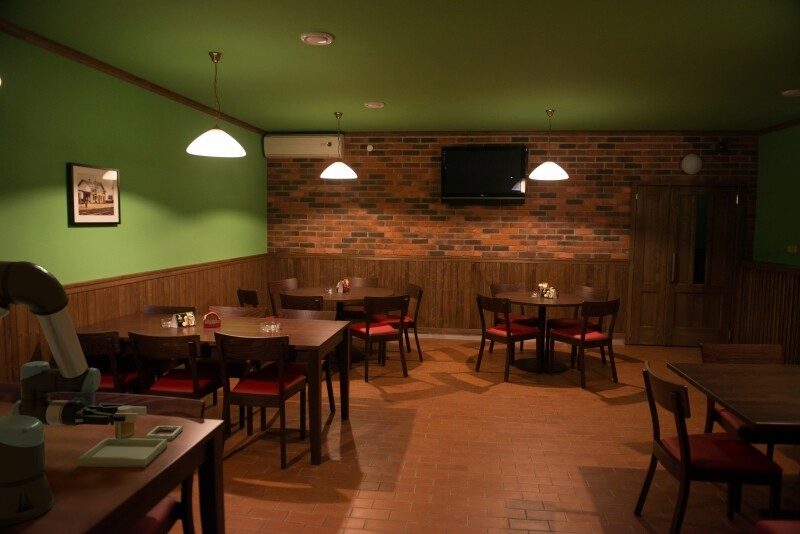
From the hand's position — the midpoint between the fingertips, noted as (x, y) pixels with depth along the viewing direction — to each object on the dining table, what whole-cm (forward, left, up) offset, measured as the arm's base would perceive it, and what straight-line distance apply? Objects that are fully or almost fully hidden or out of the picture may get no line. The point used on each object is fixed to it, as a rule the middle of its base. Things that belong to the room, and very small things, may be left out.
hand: (141, 414), depth 172 cm
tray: (0, +5, -13) cm, 14 cm away
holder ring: (+18, 0, -13) cm, 22 cm away
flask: (+36, +39, -13) cm, 55 cm away
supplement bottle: (0, +5, -8) cm, 9 cm away
